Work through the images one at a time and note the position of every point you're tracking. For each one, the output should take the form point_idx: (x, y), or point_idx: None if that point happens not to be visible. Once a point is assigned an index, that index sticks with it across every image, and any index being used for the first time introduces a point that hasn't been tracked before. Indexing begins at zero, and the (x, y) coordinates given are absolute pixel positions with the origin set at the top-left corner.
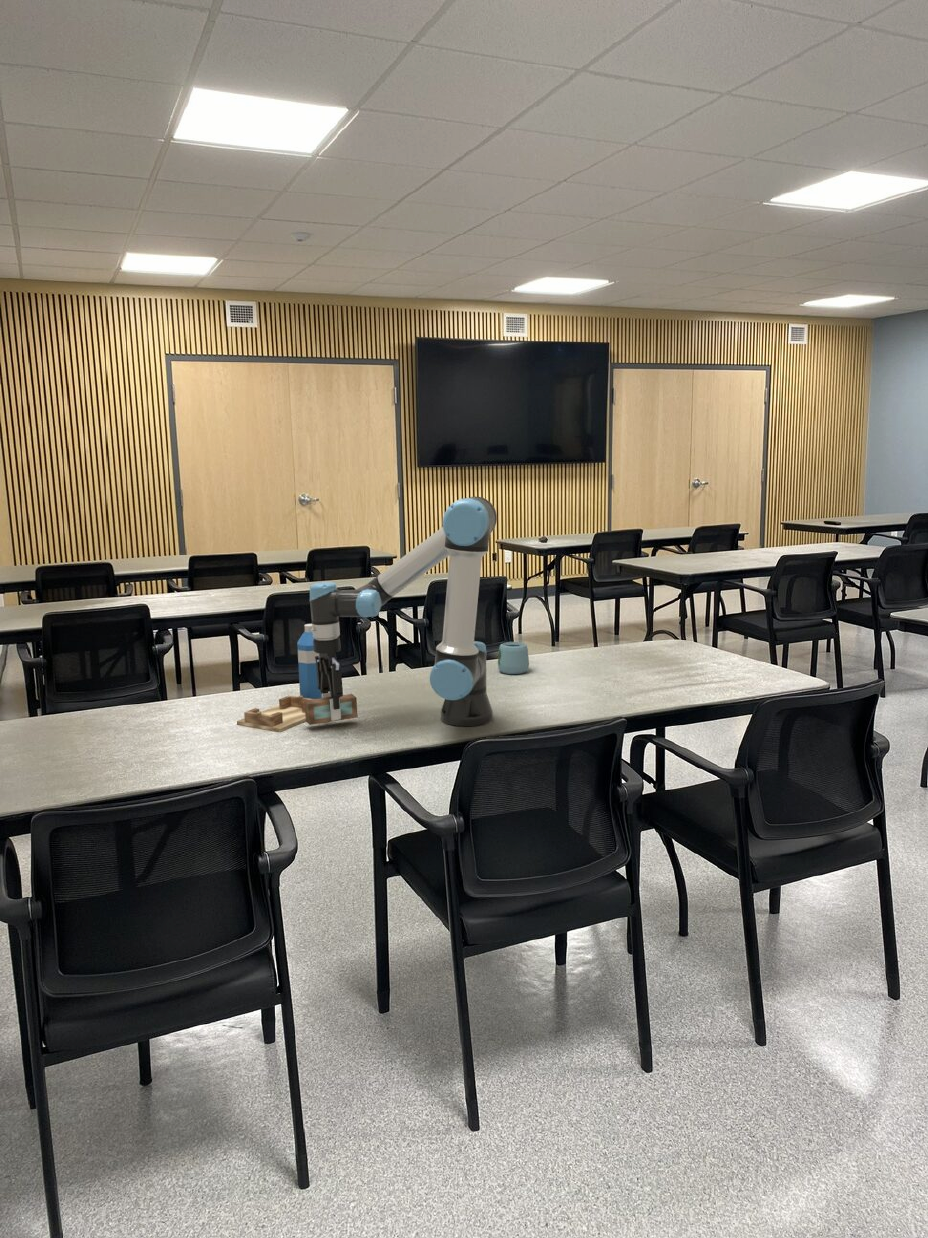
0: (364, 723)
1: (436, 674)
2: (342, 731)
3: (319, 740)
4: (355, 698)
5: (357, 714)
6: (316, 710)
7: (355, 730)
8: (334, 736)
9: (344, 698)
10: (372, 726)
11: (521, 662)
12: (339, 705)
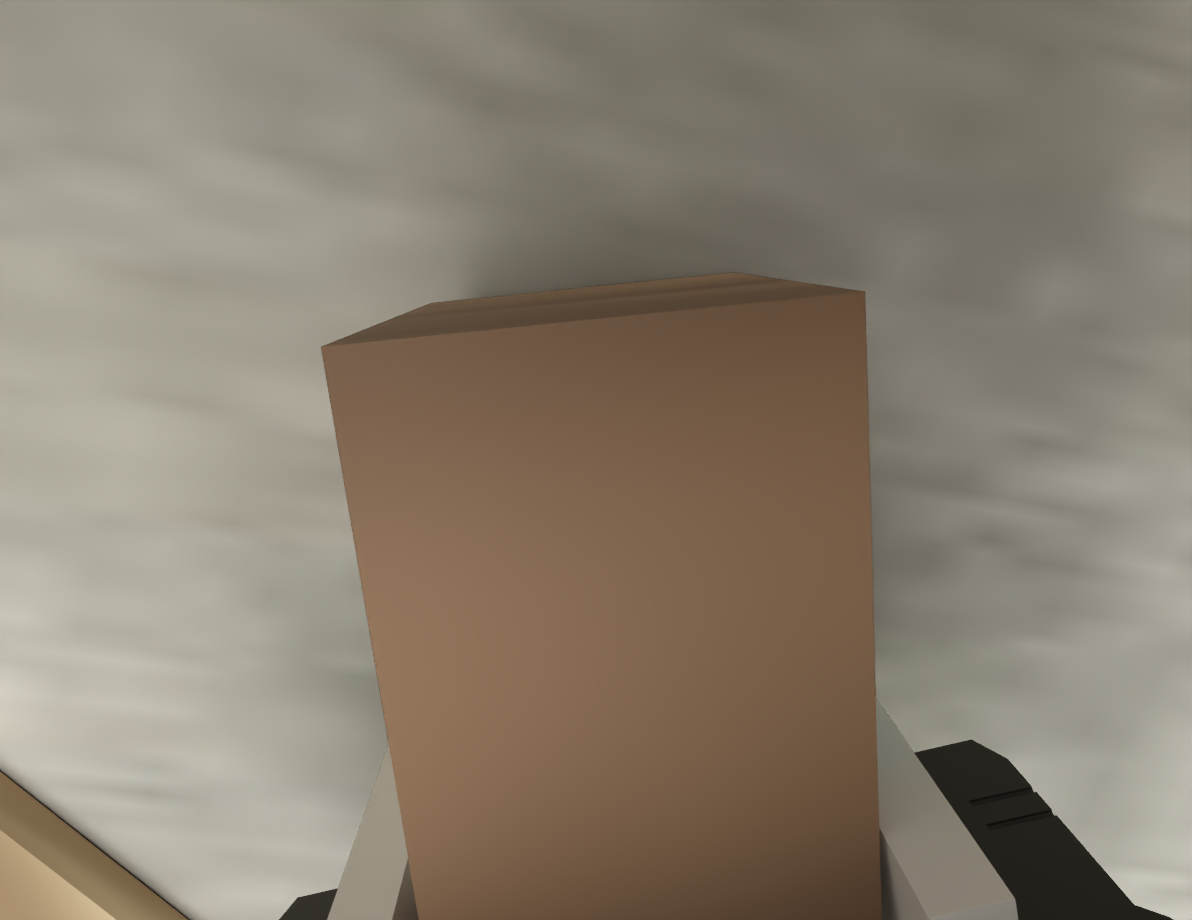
0: (664, 147)
1: None
2: (933, 561)
3: (1172, 894)
4: (859, 325)
5: (744, 275)
6: None
7: (970, 368)
8: (1104, 699)
9: (814, 670)
10: (882, 50)
11: None
12: (1028, 788)
